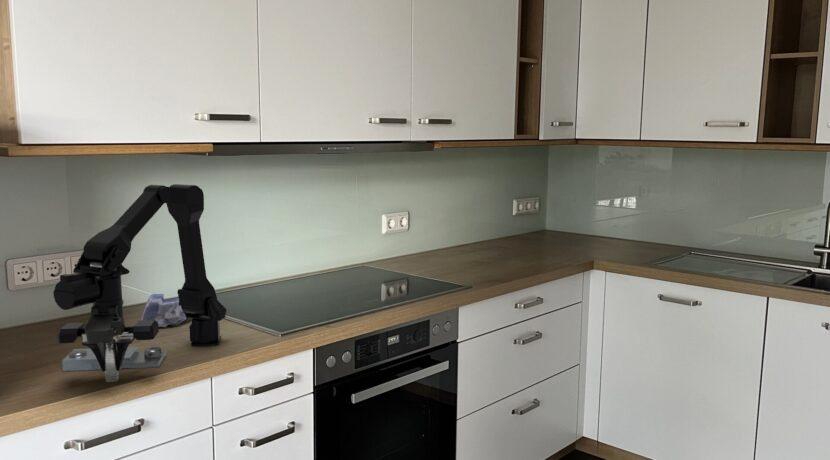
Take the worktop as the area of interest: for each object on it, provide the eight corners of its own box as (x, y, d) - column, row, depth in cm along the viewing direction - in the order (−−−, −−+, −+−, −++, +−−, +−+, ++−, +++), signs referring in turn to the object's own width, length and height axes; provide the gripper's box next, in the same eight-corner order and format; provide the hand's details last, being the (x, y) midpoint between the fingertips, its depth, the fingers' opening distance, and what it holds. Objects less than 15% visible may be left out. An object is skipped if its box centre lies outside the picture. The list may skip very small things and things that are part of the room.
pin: (119, 377, 148) (117, 336, 147) (116, 381, 146) (114, 340, 145) (107, 378, 148) (105, 337, 147) (104, 382, 146) (101, 340, 144)
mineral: (144, 298, 180) (137, 288, 188) (141, 334, 181) (134, 322, 189) (201, 298, 187) (191, 288, 196) (197, 332, 189) (188, 320, 197)
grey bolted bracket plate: (165, 355, 163) (165, 343, 163) (158, 367, 155) (158, 354, 155) (74, 359, 160) (74, 347, 160) (62, 371, 152) (62, 358, 152)
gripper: (44, 310, 135) (50, 387, 138) (145, 307, 138) (149, 382, 140) (64, 296, 146) (69, 367, 148) (157, 293, 149) (160, 363, 151)
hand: (111, 370), depth 147 cm, fingers closed on pin, 2 cm apart
